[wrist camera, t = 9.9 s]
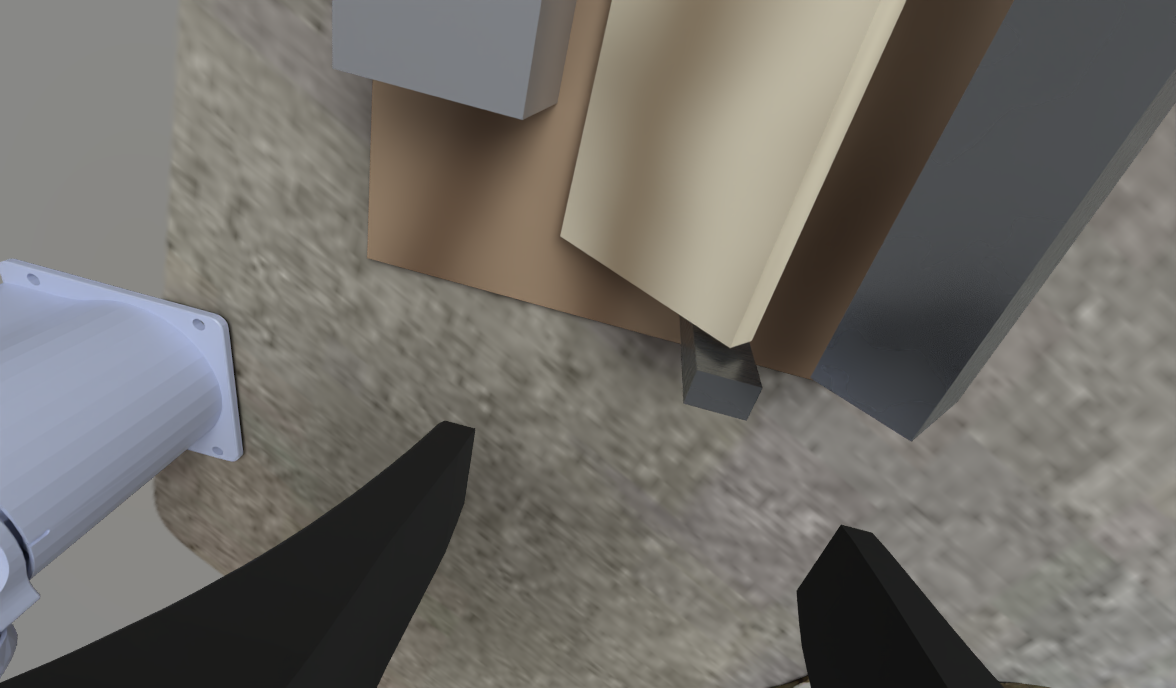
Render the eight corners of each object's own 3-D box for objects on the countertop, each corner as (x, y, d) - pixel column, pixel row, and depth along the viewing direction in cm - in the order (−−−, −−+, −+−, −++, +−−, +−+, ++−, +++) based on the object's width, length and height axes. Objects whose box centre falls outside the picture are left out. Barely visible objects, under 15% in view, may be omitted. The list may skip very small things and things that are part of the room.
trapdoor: (1495, -337, 7) (1694, -688, 4) (958, 400, 14) (894, 456, 11) (796, -242, 14) (690, -360, 11) (651, 230, 20) (560, 235, 17)
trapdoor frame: (375, 252, 20) (247, 340, 14) (408, -631, 11) (62, -1548, 5) (890, 393, 20) (987, 543, 14) (1374, -360, 11) (2313, -905, 5)
